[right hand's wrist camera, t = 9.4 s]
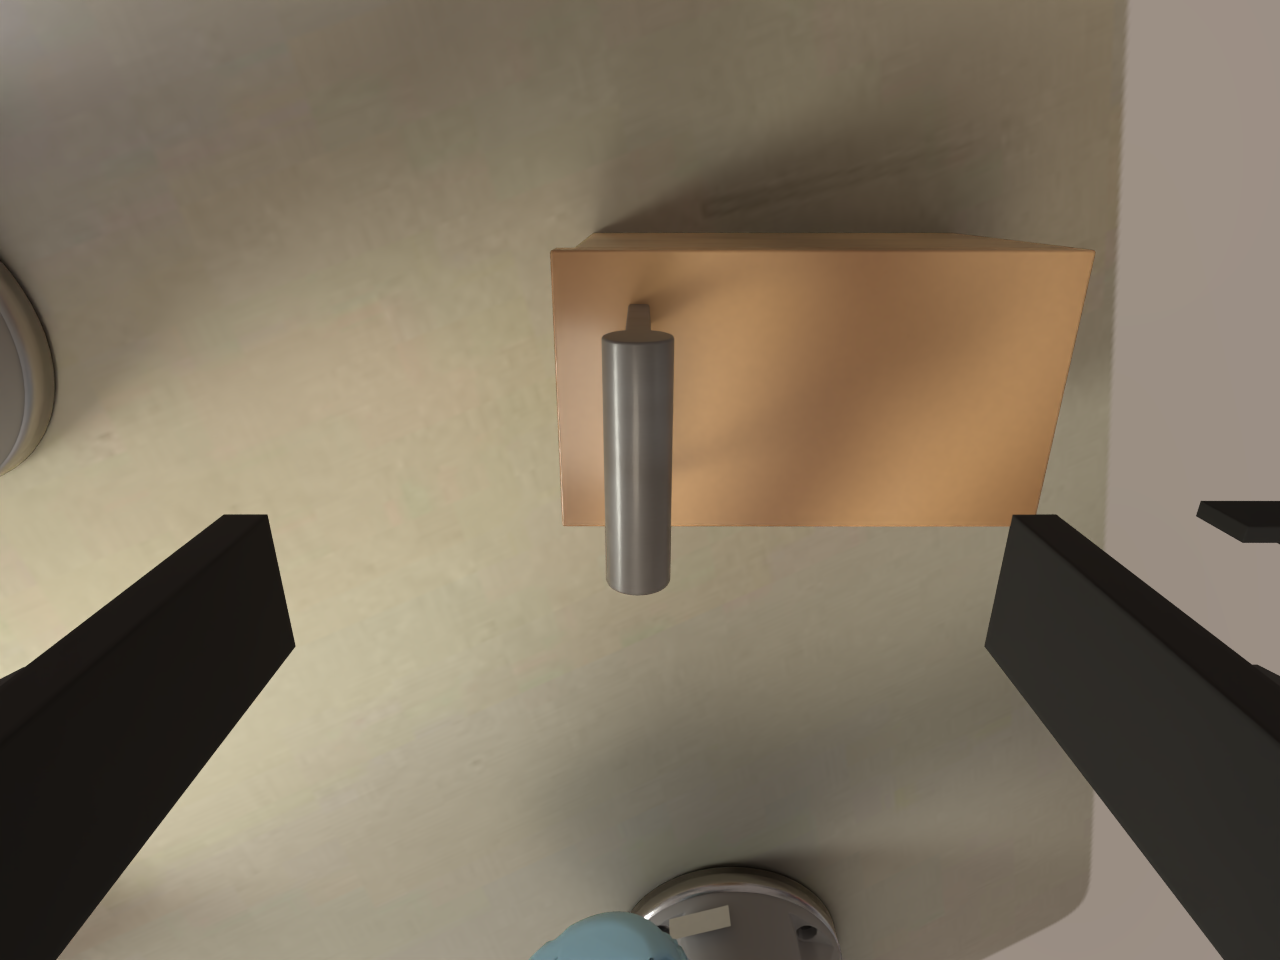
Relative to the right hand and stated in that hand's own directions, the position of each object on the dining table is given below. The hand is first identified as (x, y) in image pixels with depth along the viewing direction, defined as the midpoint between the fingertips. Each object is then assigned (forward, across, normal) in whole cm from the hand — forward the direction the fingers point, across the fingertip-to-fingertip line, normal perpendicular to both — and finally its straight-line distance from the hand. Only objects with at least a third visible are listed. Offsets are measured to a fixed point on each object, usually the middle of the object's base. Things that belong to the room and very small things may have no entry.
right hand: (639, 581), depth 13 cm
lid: (+14, -6, 0) cm, 15 cm away
